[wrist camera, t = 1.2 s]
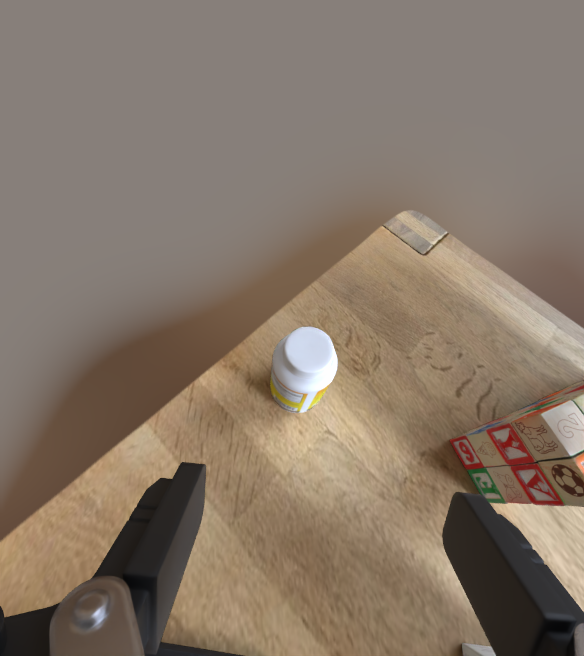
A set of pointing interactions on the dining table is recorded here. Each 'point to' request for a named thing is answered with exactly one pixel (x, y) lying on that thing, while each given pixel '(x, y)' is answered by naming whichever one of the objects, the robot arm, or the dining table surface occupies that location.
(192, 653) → the black tray
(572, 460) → the stack of blocks
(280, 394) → the supplement bottle
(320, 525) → the dining table surface
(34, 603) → the dining table surface
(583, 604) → the dining table surface
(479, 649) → the product carton
